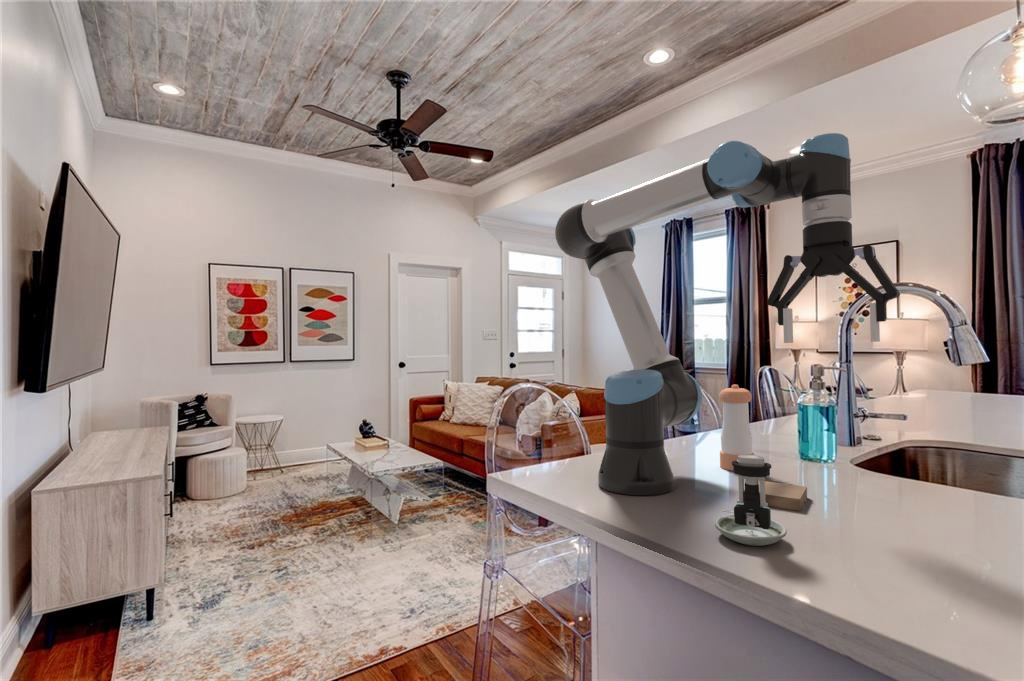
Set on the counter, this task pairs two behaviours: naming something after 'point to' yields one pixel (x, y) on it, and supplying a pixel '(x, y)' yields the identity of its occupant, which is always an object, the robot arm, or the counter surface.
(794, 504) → the wooden block
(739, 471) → the push button
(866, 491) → the counter surface
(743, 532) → the saucer
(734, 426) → the pepper shaker
